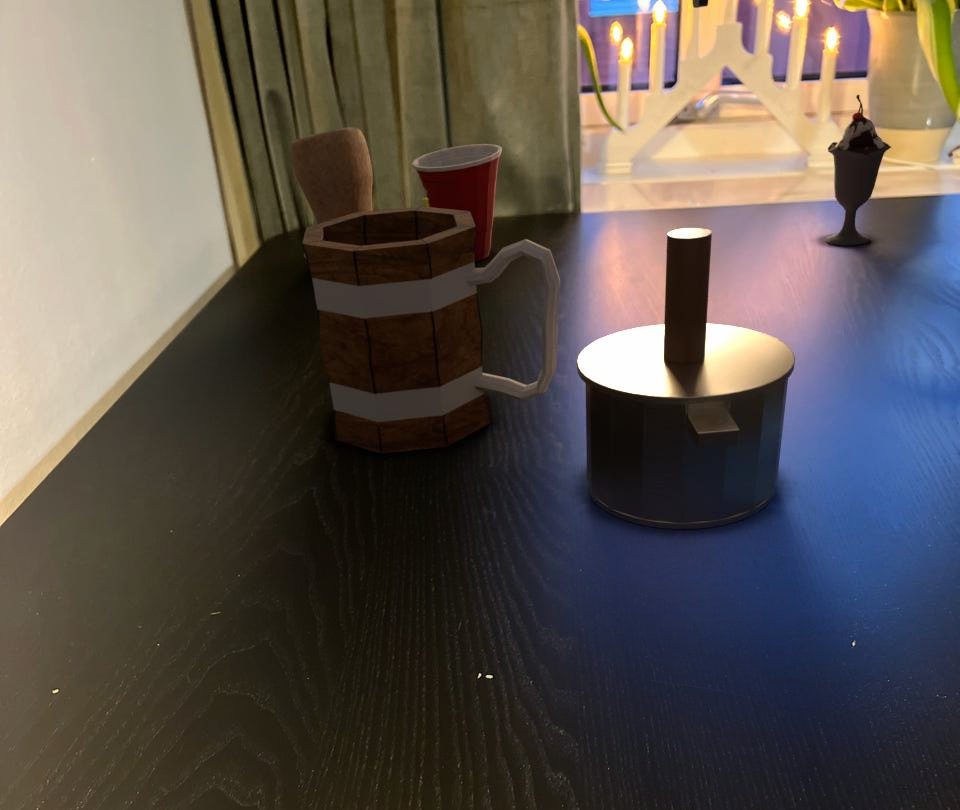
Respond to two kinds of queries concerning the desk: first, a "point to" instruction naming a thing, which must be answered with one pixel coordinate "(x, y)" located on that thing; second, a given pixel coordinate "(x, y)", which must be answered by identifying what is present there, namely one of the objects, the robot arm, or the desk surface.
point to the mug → (413, 325)
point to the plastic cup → (464, 185)
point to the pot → (683, 458)
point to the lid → (686, 344)
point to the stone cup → (334, 172)
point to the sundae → (855, 173)
